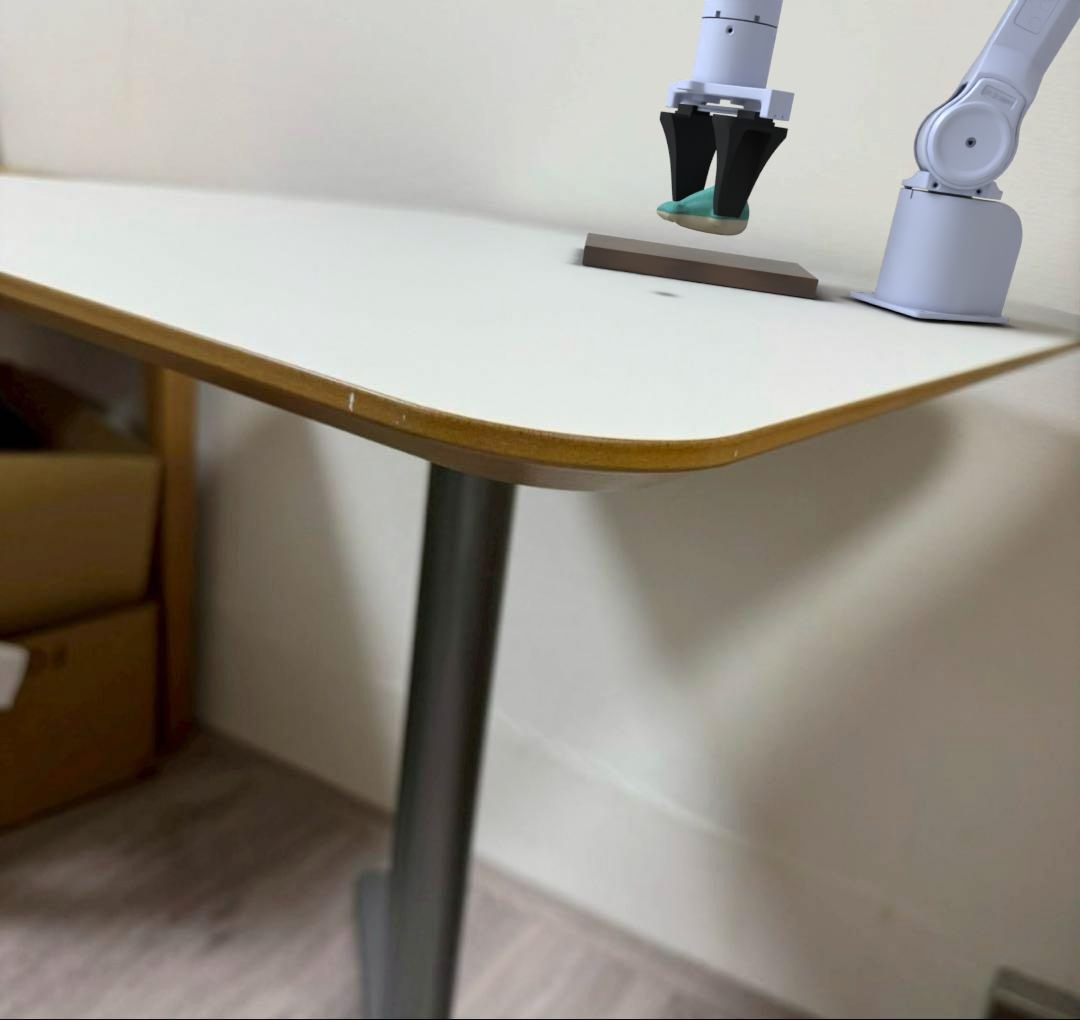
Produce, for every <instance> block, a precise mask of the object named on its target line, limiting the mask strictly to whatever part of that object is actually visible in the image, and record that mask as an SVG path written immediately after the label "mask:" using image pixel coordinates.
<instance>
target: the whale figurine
mask: <svg viewBox="0 0 1080 1020" xmlns="http://www.w3.org/2000/svg"><path fill="white" fill-rule="evenodd" d="M714 186H715V185H713V186H710V187H707V188H704V190H702V191H699V192H697V193H695V194H692V195H690V196H688V197H687V198H685V199H683V200H681V201H679V202H675V201H673V200H668V201H665V202H663V203H661V204H659V205H658V206H657V208H656V209H655V212H656V214H657V215H658V216H659V217H660V218H661V219H662V220H665V221H668V222H670V223H675V224H677V225H678V226H680V227H682V228H685V229H689V230H692V231H696V232H700V233H704V234H705V233H706V234H711V235H717V236H727V237H728V236H737V235H740V234H742V233H743V232H744V231H745V230H746V229H747V227H748V224H749V219H750V205H749V202H748V201H747V203H746V205H745V207H744V210H743V212H742V214H741V216H740V218H734V217H725V216H717V215H714V214H713V196H714Z"/></svg>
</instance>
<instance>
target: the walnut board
mask: <svg viewBox="0 0 1080 1020" xmlns="http://www.w3.org/2000/svg"><path fill="white" fill-rule="evenodd" d="M582 253H583V254H582V262H581V265H582V266H588V267H594V268H601V269H608V270H614V271H620V272H627V273H635V274H641V275H646V276H647V275H649V276H655V277H661V278H667V279H676V280H681V281H689V282H695V283H703V284H710V285H717V286H722V287H731V288H736V289H743V290H751V291H756V292H757V291H758V292H762V293H763V292H764V293H770V294H777V295H783V296H784V295H785V296H791V297H797V298H805V299H811V300H814V299H815V298H816V294H817V290H818V286H819V279H818V278H817V277H816V276H815V275H813V274H812V273H810V272H809V271H808V270H807V269H805V267H804V266H802V265H800V264H799V263H798V262H792V261H785V260H779V259H771V258H765V257H758V256H751V255H744V254H739V253H738V254H737V253H730V252H723V251H716V250H711V249H702V248H697V247H689V246H682V245H675V244H670V243H664V242H663V243H661V242H655V241H649V240H641V239H634V238H627V237H621V236H613V235H607V234H601V233H593V232H588V233H587V234H586V239H585V243H584V248H583V252H582Z"/></svg>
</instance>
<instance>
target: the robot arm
mask: <svg viewBox="0 0 1080 1020" xmlns="http://www.w3.org/2000/svg"><path fill="white" fill-rule="evenodd" d="M783 3H784V0H704V1H703V7H702V12H701V13H702V14H701V20H700V24H699V25H700V27H699V32H698V38H697V43H696V49H695V54H694V60H693V65H692V73H691V77H690V78H691V79H678V81H677V82H672V81H670V82H669V83H668V88H667V93H666V94H667V95H666V100H665V108H669V109H677V110H674V112H670V111H660V113H659V122H660V125H661V128H662V131H663V134H664V137H665V141H666V146H667V149H668V150H667V151H668V156H669V165H670V182H671V183H670V186H671V199H672V200H671V201H675V202H679V201H681V200H683V199H685V198H687V197H688V196H690V195H692V194H695V193H697V192H699V191H702V190H705V189H706V188H705V187H706V184H707V180H708V176H709V172H710V168H711V165H712V162H713V159H714V157H715V154H716V169H715V177H714V178H715V179H714V185H713V186H714V196H713V214H714V215H717V216H725V217H734V218H740V216H741V214H742V212H743V210H744V207H745V205H746V203H747V202H748V201H749V199H750V196H751V194H752V191H753V190H754V188H755V185H756V183H757V181H758V179H759V177H760V175H761V173H762V172H763V170H764V169H765V167H766V166H767V163H768V162H769V160H770V159H771V157H772V156H773V155H774V153H775V151H776V150H777V149H778V148H779V147H780V145H782V143H783V142H784V141H785V140H786V139H787V136H788V131H789V128H788V127H781V126H776V122H774V120H776V121H781V122H782V121H783V122H789V121H790V118H791V114H792V113H791V112H792V108H793V104H794V98H795V92H790V91H784V90H779V89H773V88H767V84H768V79H769V75H770V71H771V65H772V59H773V54H774V49H775V44H776V39H777V34H778V27H779V23H780V18H781V13H782V9H783V8H782V7H783ZM1079 20H1080V0H1011V1H1010V3H1008V6H1007V7H1006V9H1005V11H1004V12H1003V14H1002V16H1001V17H1000V19H999V21H998V22H997V24H996V25H995V27H994V29H993V31H992V33H991V34H990V36H989V37H988V39H987V41H986V43H985V44H984V46H983V47H982V49H981V51H980V52H979V54H978V55H977V57H976V58H975V59H974V61H973V62H972V64H971V65H970V66H969V68H968V69H967V72H965V74H964V75H963V76H962V78H961V80H960V81H959V84H958V85H957V87H956V89H954V91H953V93H952V94H951V95H950V97H948V99H947V100H945V101H944V102H943V103H941V104H940V105H939V106H937V107H936V108H934V109H933V110H931V112H929V113H928V114H926V116H924V119H923V120H922V121H921V122H920V125H919V127H918V128H917V130H916V133H915V136H914V140H913V157H914V160H915V164H916V166H917V167H918V169H919V170H917V171H916V172H915V173H913V175H912V176H911V177H909V178H905V179H902V180H901V183H900V185H901V186H903V187H900V188H899V191H898V195H897V199H896V203H895V208H894V211H893V212H894V213H893V216H892V219H891V220H892V221H891V223H890V224H891V225H890V228H889V233H888V237H887V241H886V245H885V249H884V252H883V257H882V261H881V265H880V268H879V273H878V277H877V282H876V285H875V290H874V292H869V291H855V290H851V291H849V295H848V296H849V297H850V298H853V299H855V300H858V301H863V302H866V303H869V304H871V305H874V306H877V307H881V308H885V309H887V310H891V311H894V312H897V313H900V314H903V315H906V316H910V317H912V318H918V319H929V320H943V321H959V322H960V321H961V322H974V323H989V324H1003V325H1004V324H1005V325H1006V324H1009V320H1010V318H1009V317H1007V316H1003V315H1002V313H1003V311H1004V306H1005V303H1006V299H1007V297H1008V293H1009V290H1010V289H1009V288H1010V285H1011V282H1012V279H1013V275H1014V272H1015V269H1016V265H1017V261H1018V258H1019V254H1020V251H1021V247H1022V243H1023V233H1024V232H1023V225H1022V220H1021V217H1020V215H1019V213H1018V212H1017V211H1016V210H1015V209H1014V208H1013V207H1012V206H1010V205H1009V204H1007V203H1004V202H1002V201H1000V200H1002V198H1003V194H1004V191H1003V190H1001V189H1000V188H999V187H998V183H997V182H996V180H998V178H999V177H1001V176H1002V175H1003V174H1004V173H1005V172H1006V171H1007V169H1008V168H1009V167H1010V166H1011V164H1012V162H1013V161H1014V158H1015V156H1016V154H1017V151H1018V149H1019V148H1018V147H1019V141H1020V132H1021V126H1022V123H1023V120H1024V118H1025V117H1026V114H1027V113H1028V111H1029V110H1030V108H1031V106H1032V104H1033V103H1034V101H1035V99H1036V97H1037V94H1038V92H1039V89H1040V86H1041V84H1042V81H1043V78H1044V76H1045V74H1046V72H1047V71H1048V69H1049V67H1050V66H1051V64H1052V63H1053V62H1054V60H1055V58H1056V56H1058V53H1059V52H1060V50H1061V48H1062V47H1063V45H1064V44H1065V42H1066V40H1067V39H1068V37H1069V35H1070V34H1071V32H1072V31H1073V29H1074V28H1075V26H1076V25H1077V23H1078V21H1079ZM721 101H729V103H730V105H734V106H740V107H732V106H725V105H724V106H723V105H720V104H721ZM712 104H714V105H712ZM711 113H713V114H711Z"/></svg>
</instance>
